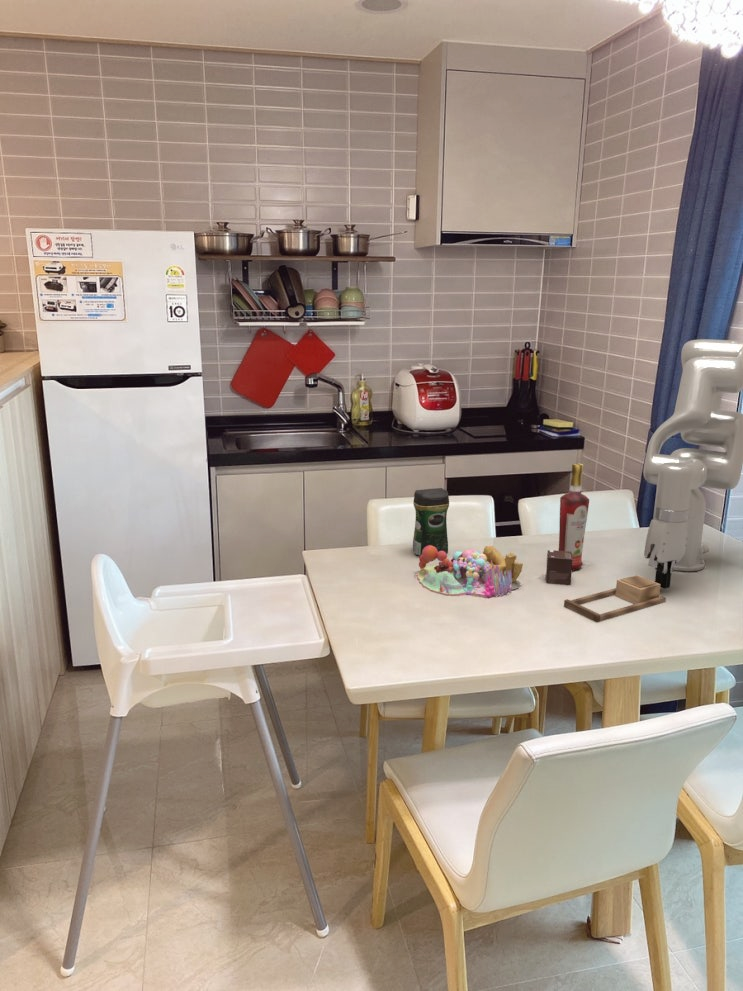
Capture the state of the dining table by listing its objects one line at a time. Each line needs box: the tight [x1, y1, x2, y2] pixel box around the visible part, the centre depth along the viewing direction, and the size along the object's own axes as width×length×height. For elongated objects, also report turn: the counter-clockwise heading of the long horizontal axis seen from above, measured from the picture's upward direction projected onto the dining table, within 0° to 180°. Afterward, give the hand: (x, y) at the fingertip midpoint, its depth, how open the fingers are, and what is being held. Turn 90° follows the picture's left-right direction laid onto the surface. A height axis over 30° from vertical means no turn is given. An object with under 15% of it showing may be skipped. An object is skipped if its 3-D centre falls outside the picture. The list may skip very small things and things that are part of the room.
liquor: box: [558, 462, 590, 571], centre depth 200 cm, size 7×7×28 cm
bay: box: [563, 587, 667, 623], centre depth 179 cm, size 23×10×2 cm, turn 121°
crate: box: [614, 574, 661, 605], centre depth 182 cm, size 7×7×4 cm
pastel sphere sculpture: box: [416, 545, 524, 598], centre depth 192 cm, size 25×24×9 cm
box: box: [545, 549, 573, 586], centre depth 193 cm, size 6×6×7 cm
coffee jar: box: [412, 487, 450, 557], centre depth 210 cm, size 10×8×19 cm
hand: (661, 586), depth 187 cm, fingers closed
